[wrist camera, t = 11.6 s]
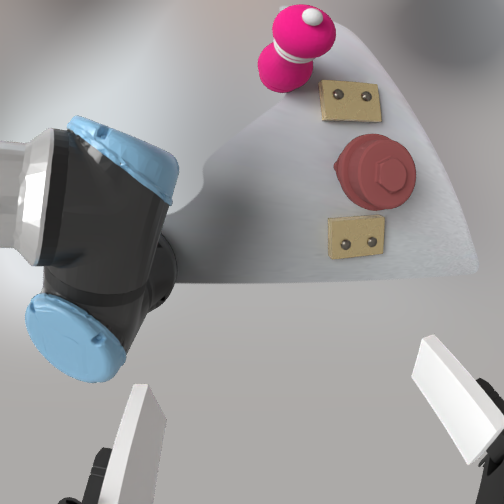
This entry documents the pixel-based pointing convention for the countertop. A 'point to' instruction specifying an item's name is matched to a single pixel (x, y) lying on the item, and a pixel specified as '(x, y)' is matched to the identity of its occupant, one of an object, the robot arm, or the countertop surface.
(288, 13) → the pepper mill
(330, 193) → the countertop surface
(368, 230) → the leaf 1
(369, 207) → the mechanical component
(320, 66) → the countertop surface
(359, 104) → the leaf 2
